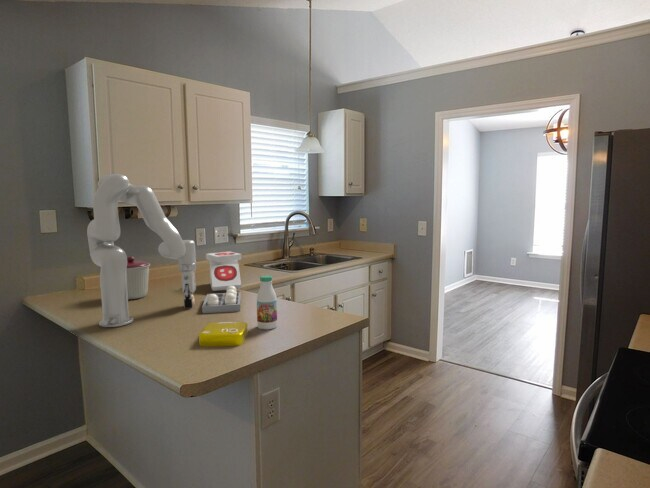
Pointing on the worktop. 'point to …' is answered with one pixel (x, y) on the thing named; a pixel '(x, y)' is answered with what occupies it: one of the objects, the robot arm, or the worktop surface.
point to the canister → (137, 278)
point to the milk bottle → (266, 304)
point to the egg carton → (222, 301)
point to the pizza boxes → (224, 270)
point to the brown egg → (192, 301)
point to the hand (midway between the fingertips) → (189, 305)
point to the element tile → (223, 334)
